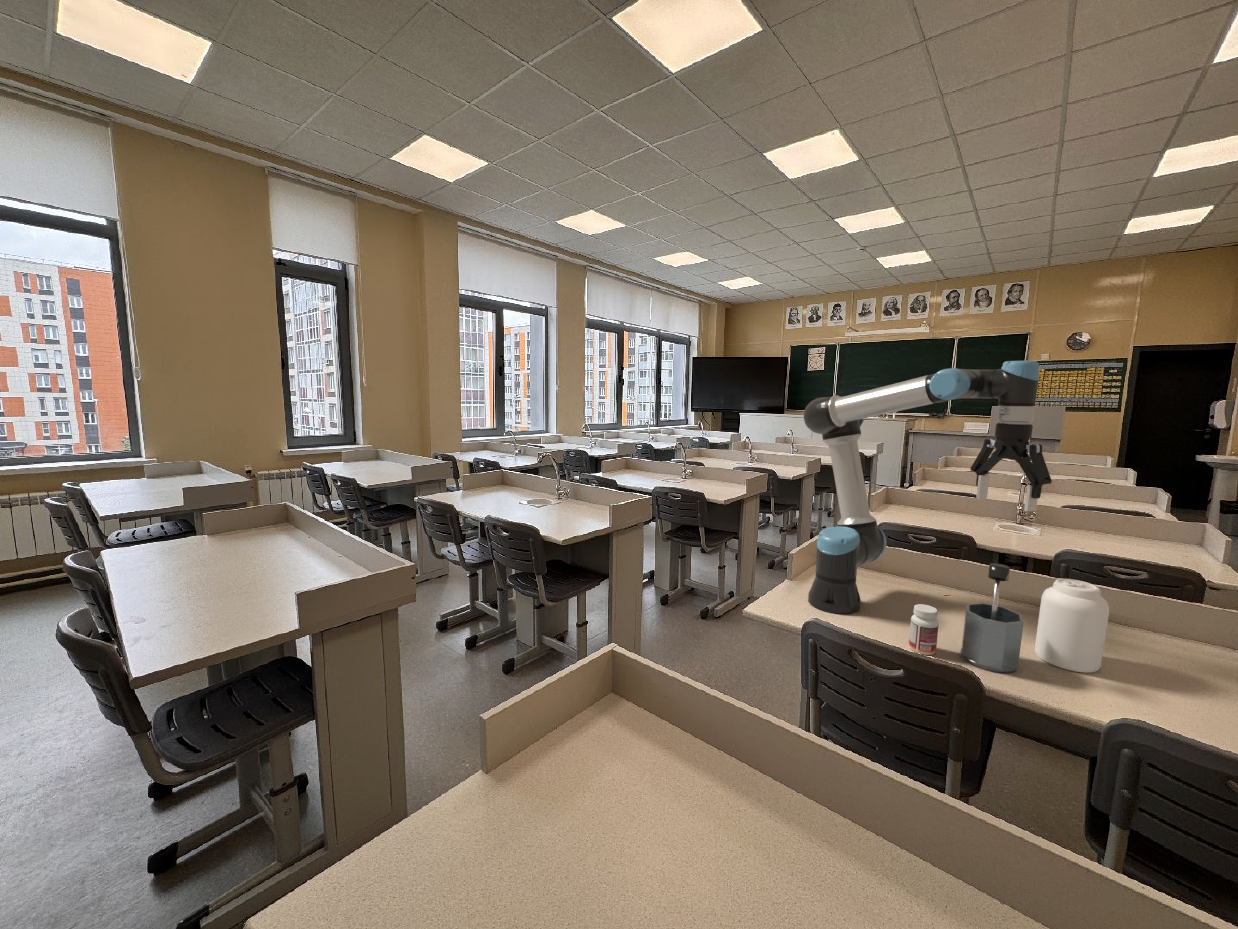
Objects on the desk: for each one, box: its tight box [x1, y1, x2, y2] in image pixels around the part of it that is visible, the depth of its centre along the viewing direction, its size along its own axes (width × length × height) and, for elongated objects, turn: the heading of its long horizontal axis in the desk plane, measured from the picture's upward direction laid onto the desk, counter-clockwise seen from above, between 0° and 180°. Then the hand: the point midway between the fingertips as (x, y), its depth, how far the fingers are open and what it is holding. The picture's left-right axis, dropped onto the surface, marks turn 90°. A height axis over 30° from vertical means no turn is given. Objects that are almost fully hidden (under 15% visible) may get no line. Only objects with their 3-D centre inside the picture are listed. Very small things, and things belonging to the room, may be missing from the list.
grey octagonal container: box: [960, 602, 1025, 674], centre depth 129 cm, size 12×14×12 cm
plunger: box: [987, 562, 1011, 621], centre depth 127 cm, size 8×8×23 cm
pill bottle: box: [908, 603, 939, 656], centre depth 134 cm, size 6×6×11 cm
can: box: [1034, 578, 1110, 674], centre depth 128 cm, size 12×12×20 cm
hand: (1004, 504), depth 136 cm, fingers open, 13 cm apart
